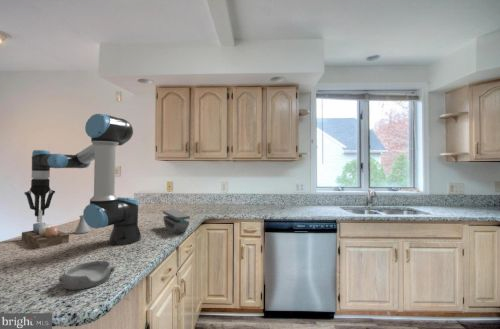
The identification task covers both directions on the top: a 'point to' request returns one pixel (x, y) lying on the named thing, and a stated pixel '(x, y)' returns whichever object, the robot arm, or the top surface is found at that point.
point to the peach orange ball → (51, 232)
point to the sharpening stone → (175, 221)
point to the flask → (82, 226)
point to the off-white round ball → (43, 229)
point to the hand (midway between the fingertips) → (39, 221)
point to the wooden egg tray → (44, 239)
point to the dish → (86, 275)
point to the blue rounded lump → (37, 227)
